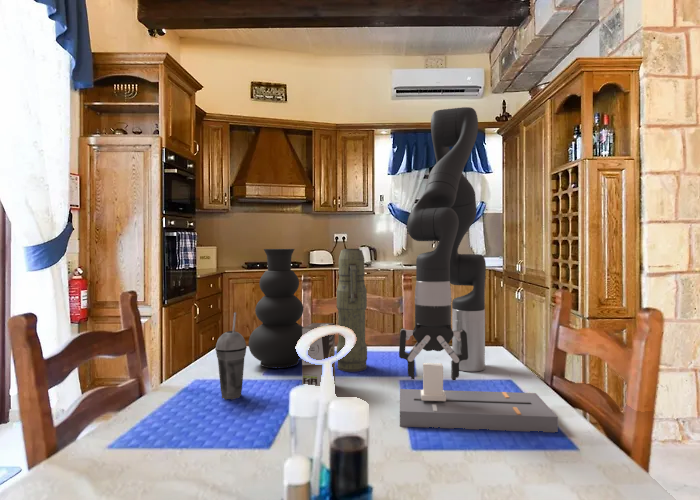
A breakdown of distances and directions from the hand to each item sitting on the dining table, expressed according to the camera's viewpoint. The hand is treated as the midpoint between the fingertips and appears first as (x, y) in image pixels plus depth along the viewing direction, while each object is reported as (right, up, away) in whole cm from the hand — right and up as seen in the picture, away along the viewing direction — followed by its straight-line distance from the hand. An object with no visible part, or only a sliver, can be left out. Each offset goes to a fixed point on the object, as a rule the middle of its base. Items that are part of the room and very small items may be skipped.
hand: (432, 378), depth 95 cm
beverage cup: (-46, -8, +12) cm, 48 cm away
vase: (-39, -8, +41) cm, 57 cm away
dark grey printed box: (-25, -8, +17) cm, 31 cm away
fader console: (+8, -8, -1) cm, 11 cm away
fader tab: (0, -4, 0) cm, 4 cm away
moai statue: (-17, -8, +37) cm, 42 cm away
